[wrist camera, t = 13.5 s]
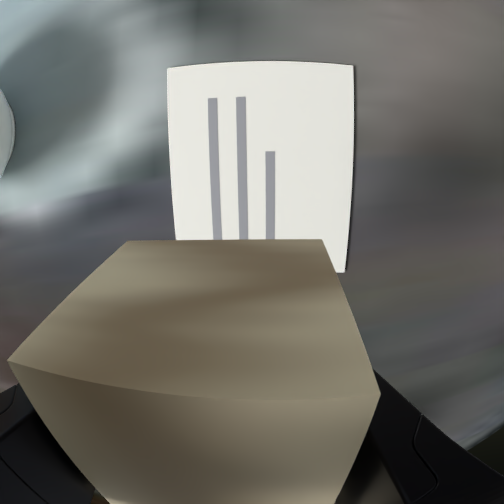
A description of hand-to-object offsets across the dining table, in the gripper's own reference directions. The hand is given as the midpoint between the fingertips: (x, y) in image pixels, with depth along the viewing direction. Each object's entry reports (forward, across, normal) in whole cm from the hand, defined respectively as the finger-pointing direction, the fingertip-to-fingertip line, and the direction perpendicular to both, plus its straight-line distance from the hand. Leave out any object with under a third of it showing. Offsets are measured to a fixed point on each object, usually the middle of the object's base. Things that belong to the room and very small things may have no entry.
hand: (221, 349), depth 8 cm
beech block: (+1, 0, 0) cm, 1 cm away
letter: (+11, -1, -3) cm, 11 cm away
